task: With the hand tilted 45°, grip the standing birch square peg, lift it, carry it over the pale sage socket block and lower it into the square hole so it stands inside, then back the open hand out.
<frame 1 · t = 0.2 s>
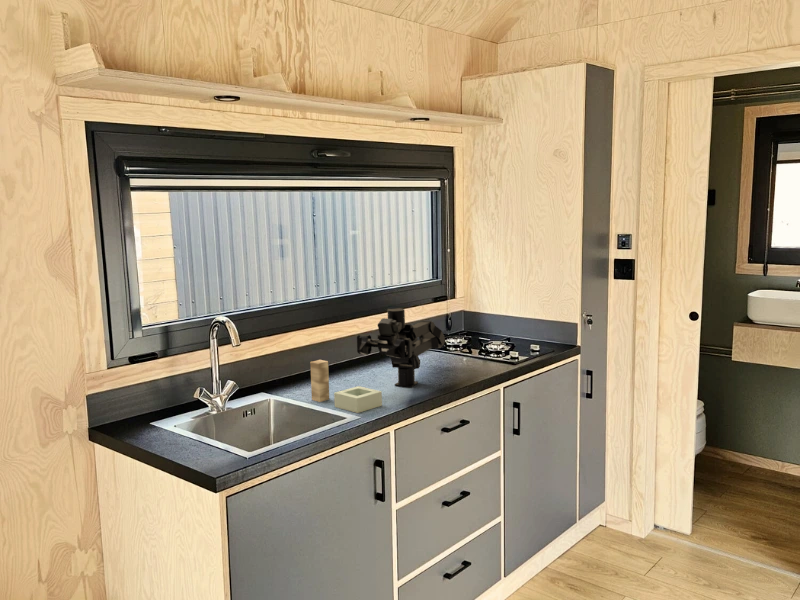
hand: (372, 352, 223), 16 cm above the worktop, fingers open, 9 cm apart
socket block: (358, 406, 222), on the worktop
peg: (320, 399, 231), on the worktop
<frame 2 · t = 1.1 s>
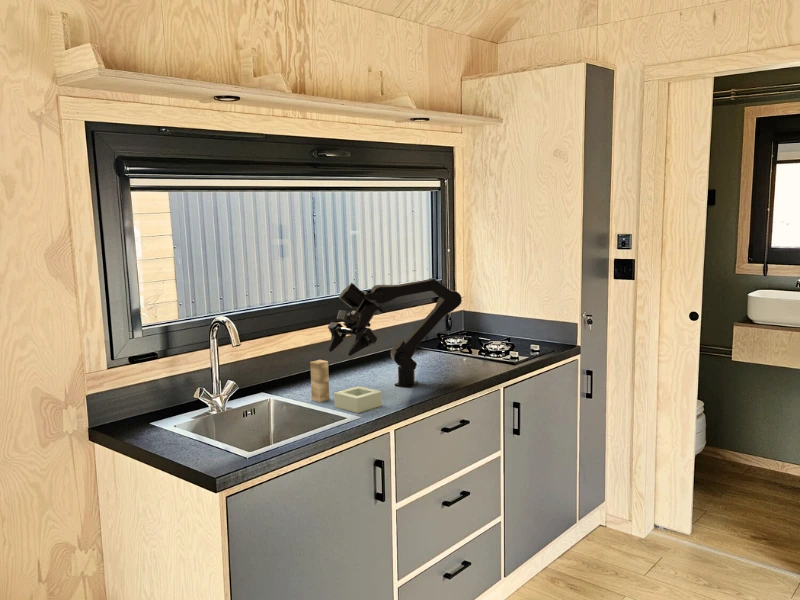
hand: (339, 353, 234), 14 cm above the worktop, fingers open, 9 cm apart
nothing on the worktop moved.
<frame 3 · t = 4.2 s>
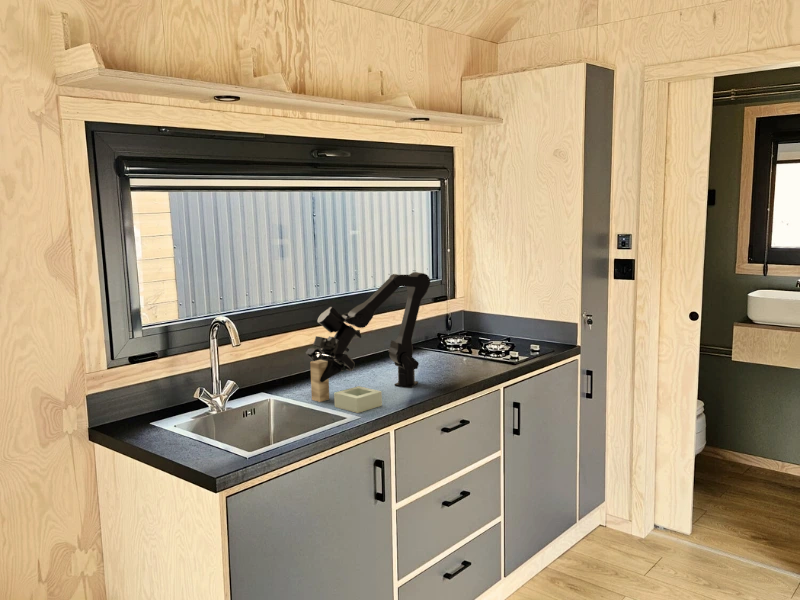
hand: (316, 380, 229), 7 cm above the worktop, fingers closed on peg, 4 cm apart
peg: (320, 399, 231), on the worktop, touching gripper
when the fingers open (9 cm above the worktop, at t = 8.5 s): peg drops 2 cm, resting in socket block.
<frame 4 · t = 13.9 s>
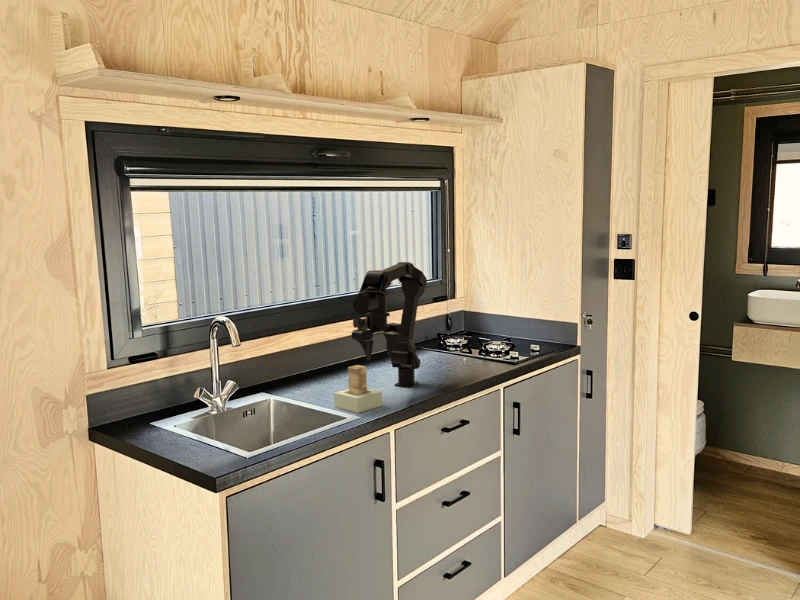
hand: (379, 357, 231), 13 cm above the worktop, fingers open, 9 cm apart
peg: (358, 406, 222), resting in socket block
at the end: peg 0.1 cm off-centre on the socket block, point 0.0 cm above the socket block's base; peg tilted 0°; the gripper is holding nothing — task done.
